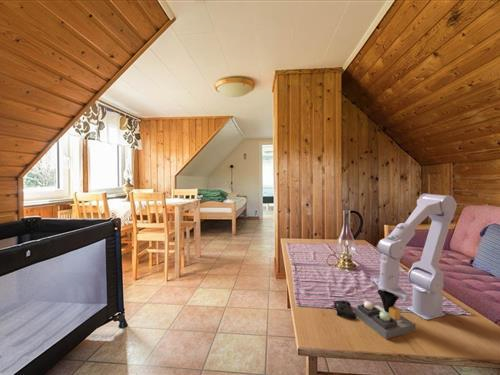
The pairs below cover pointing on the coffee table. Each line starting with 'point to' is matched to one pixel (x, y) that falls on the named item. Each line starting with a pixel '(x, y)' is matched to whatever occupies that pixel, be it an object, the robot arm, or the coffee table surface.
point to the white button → (368, 305)
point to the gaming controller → (344, 309)
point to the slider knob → (394, 312)
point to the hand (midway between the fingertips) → (388, 311)
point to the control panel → (381, 327)
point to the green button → (385, 316)
